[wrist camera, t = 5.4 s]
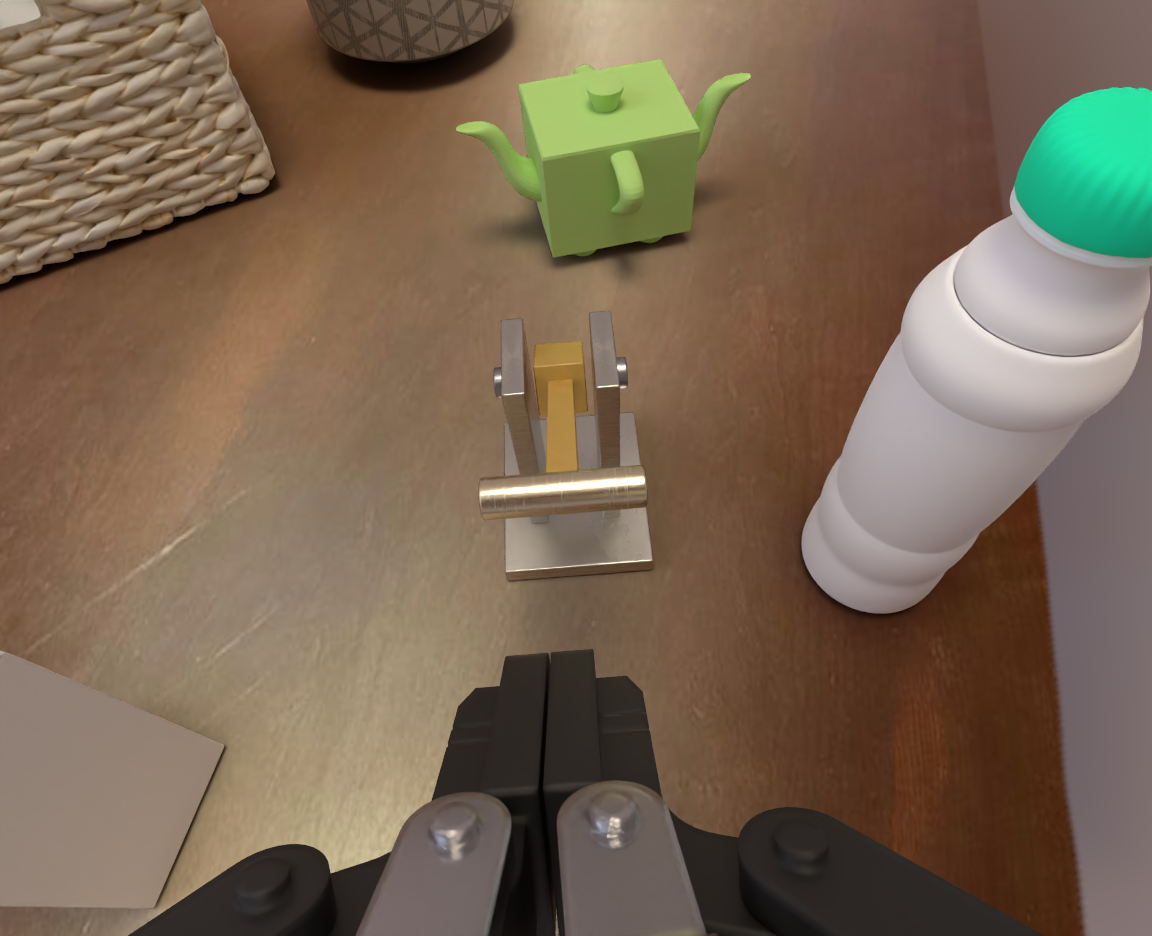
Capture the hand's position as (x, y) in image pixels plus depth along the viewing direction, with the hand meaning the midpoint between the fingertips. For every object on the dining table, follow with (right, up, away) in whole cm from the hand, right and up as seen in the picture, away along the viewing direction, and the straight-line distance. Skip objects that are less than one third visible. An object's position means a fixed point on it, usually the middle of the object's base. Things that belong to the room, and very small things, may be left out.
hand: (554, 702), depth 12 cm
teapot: (+3, +23, +43) cm, 49 cm away
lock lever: (0, +5, +17) cm, 18 cm away
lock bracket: (0, +2, +30) cm, 30 cm away
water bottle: (+16, -1, +27) cm, 31 cm away
